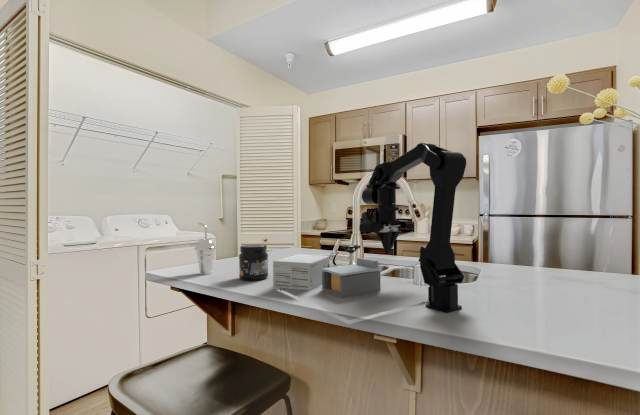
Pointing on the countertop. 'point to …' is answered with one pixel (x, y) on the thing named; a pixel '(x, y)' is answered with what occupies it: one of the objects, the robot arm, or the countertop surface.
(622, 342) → the countertop surface
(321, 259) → the supplement box
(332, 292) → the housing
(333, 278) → the block
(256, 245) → the supplement container
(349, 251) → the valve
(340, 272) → the lid
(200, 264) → the cup with straw
